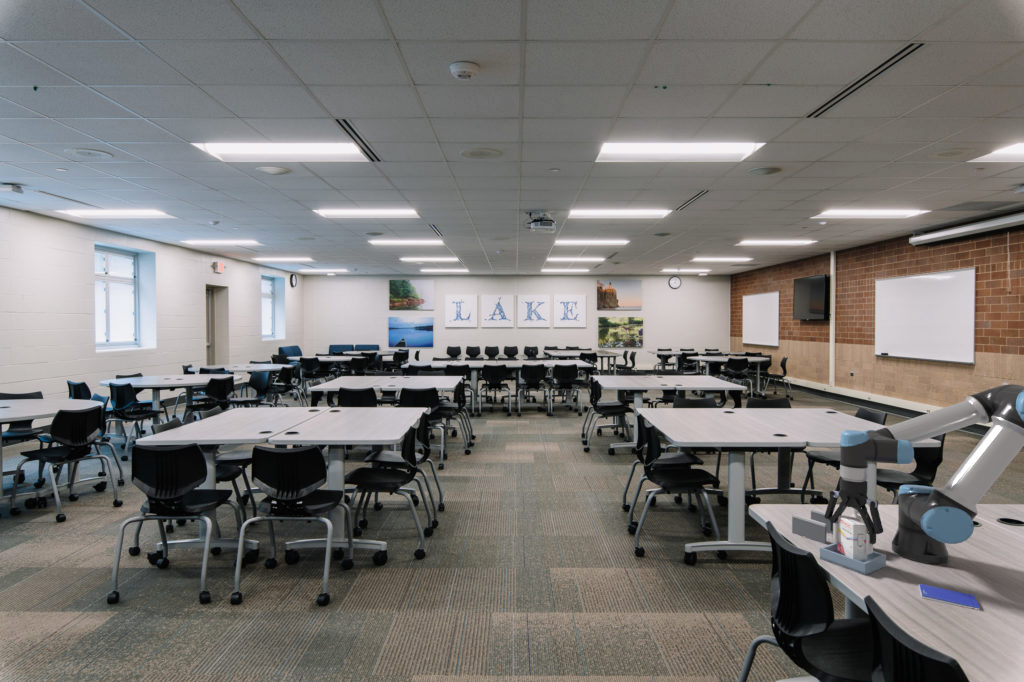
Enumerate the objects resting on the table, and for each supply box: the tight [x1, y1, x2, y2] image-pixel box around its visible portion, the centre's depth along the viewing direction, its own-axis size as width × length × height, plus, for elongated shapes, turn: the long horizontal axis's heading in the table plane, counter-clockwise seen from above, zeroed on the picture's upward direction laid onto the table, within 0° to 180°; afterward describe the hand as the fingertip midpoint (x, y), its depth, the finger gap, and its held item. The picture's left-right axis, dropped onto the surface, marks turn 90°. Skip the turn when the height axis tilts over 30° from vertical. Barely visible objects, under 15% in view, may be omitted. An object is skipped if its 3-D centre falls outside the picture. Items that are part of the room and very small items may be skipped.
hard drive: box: [918, 583, 981, 610], centre depth 149 cm, size 2×8×12 cm
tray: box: [819, 542, 887, 576], centre depth 171 cm, size 14×13×4 cm
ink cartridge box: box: [838, 507, 869, 561], centre depth 171 cm, size 9×5×15 cm, turn 179°
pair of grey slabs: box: [791, 508, 838, 544], centre depth 195 cm, size 12×13×7 cm
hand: (852, 547), depth 171 cm, fingers closed on ink cartridge box, 9 cm apart
